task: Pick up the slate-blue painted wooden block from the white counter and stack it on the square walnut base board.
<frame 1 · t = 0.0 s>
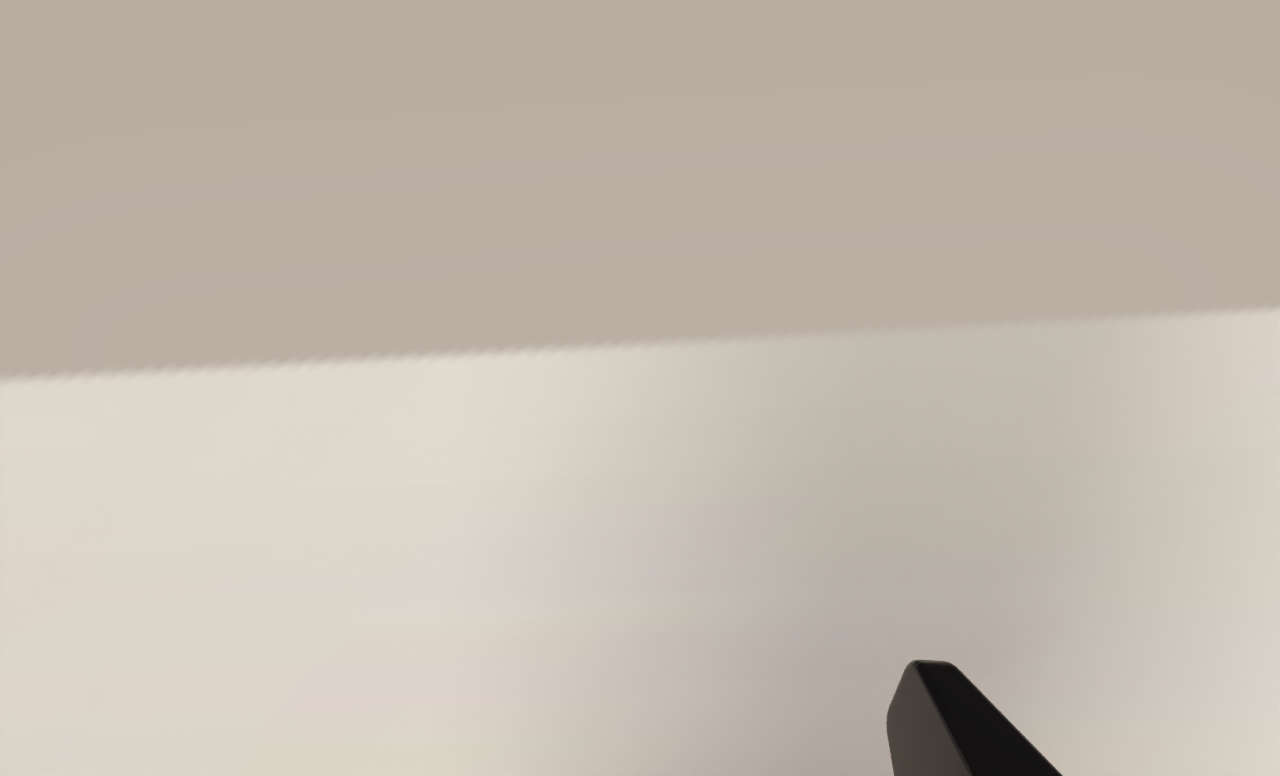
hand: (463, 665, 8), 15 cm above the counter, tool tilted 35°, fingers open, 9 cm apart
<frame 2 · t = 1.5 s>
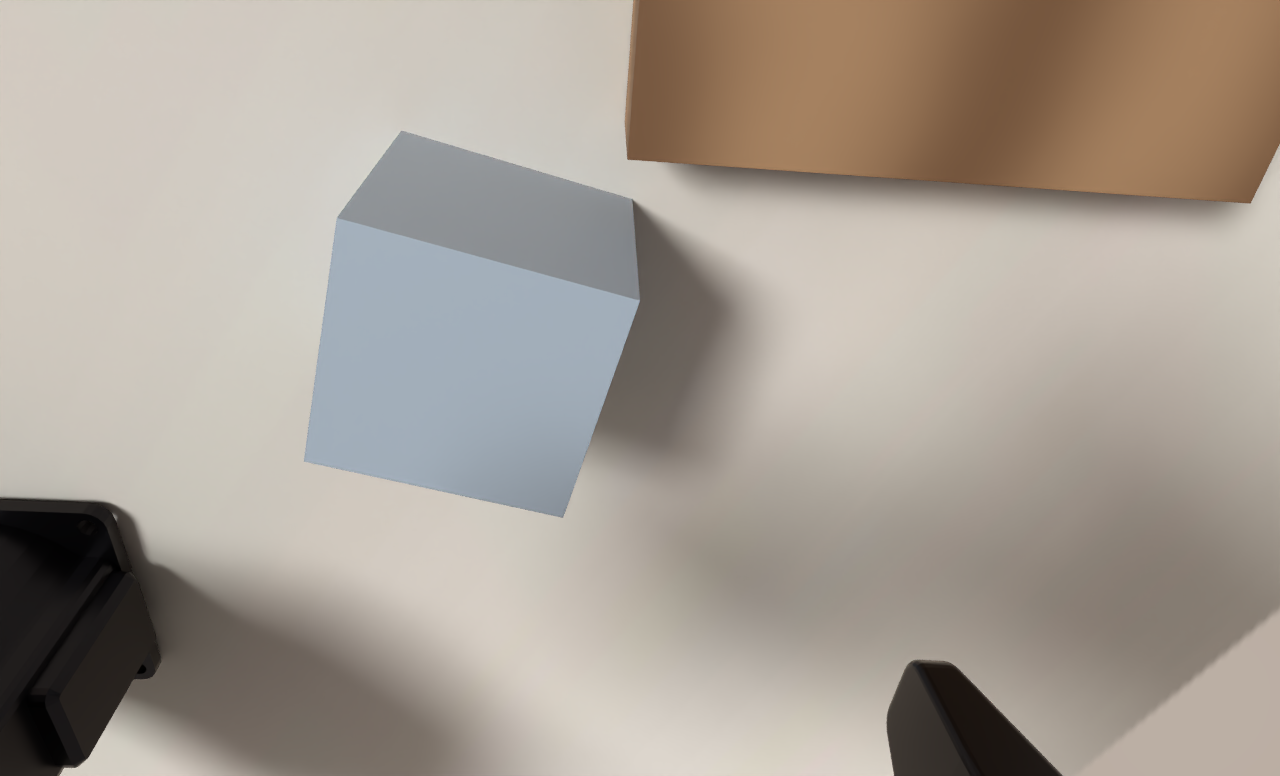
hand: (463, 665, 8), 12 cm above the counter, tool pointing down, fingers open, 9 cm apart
block: (494, 268, 19), on the counter
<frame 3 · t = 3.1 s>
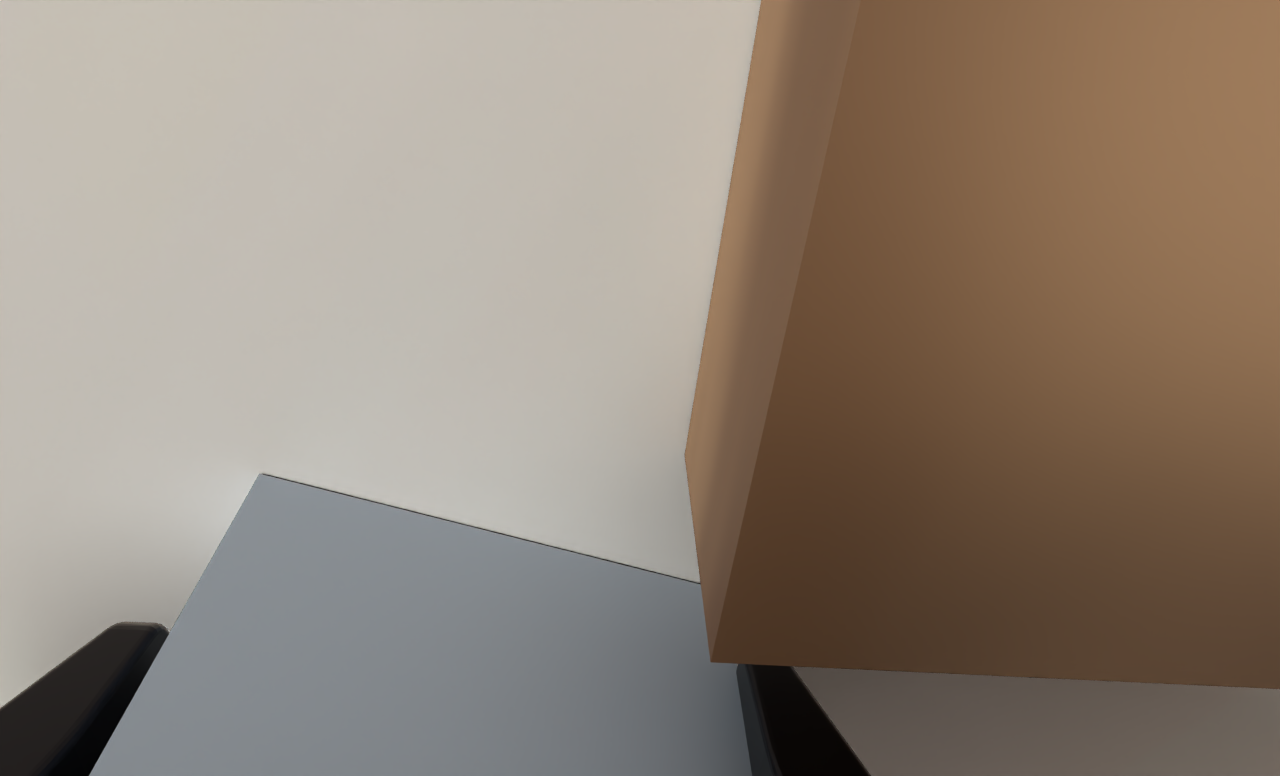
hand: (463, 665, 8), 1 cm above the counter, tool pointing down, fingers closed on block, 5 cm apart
block: (449, 684, 10), on the counter, touching gripper
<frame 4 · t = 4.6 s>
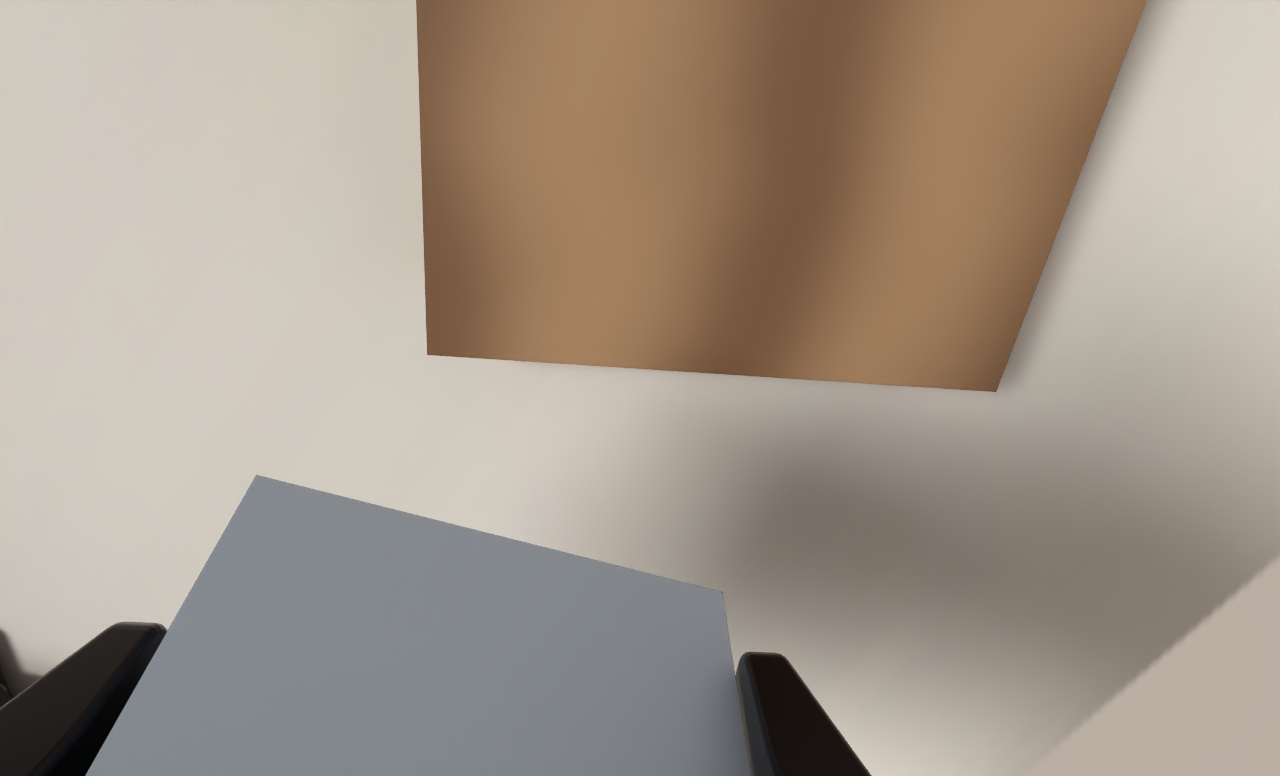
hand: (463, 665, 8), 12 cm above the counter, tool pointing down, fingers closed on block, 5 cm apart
block: (446, 685, 10), point 11 cm above the counter, touching gripper
base: (751, 46, 16), on the counter
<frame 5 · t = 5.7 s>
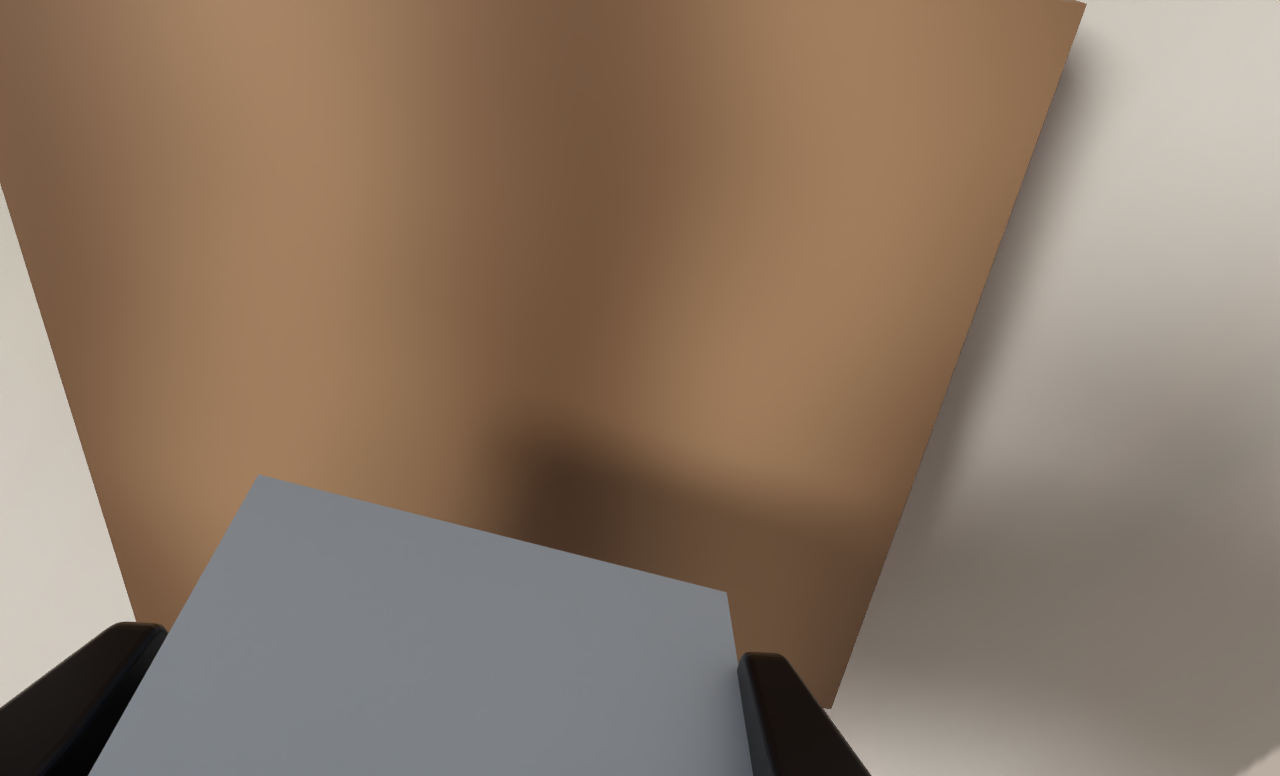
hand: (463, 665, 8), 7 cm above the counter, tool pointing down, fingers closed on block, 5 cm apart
block: (449, 685, 10), point 6 cm above the counter, touching gripper
base: (527, 332, 14), on the counter
when the fingers open (5 cm above the counter, at t = 6.4 s): block drops 1 cm, resting on base.
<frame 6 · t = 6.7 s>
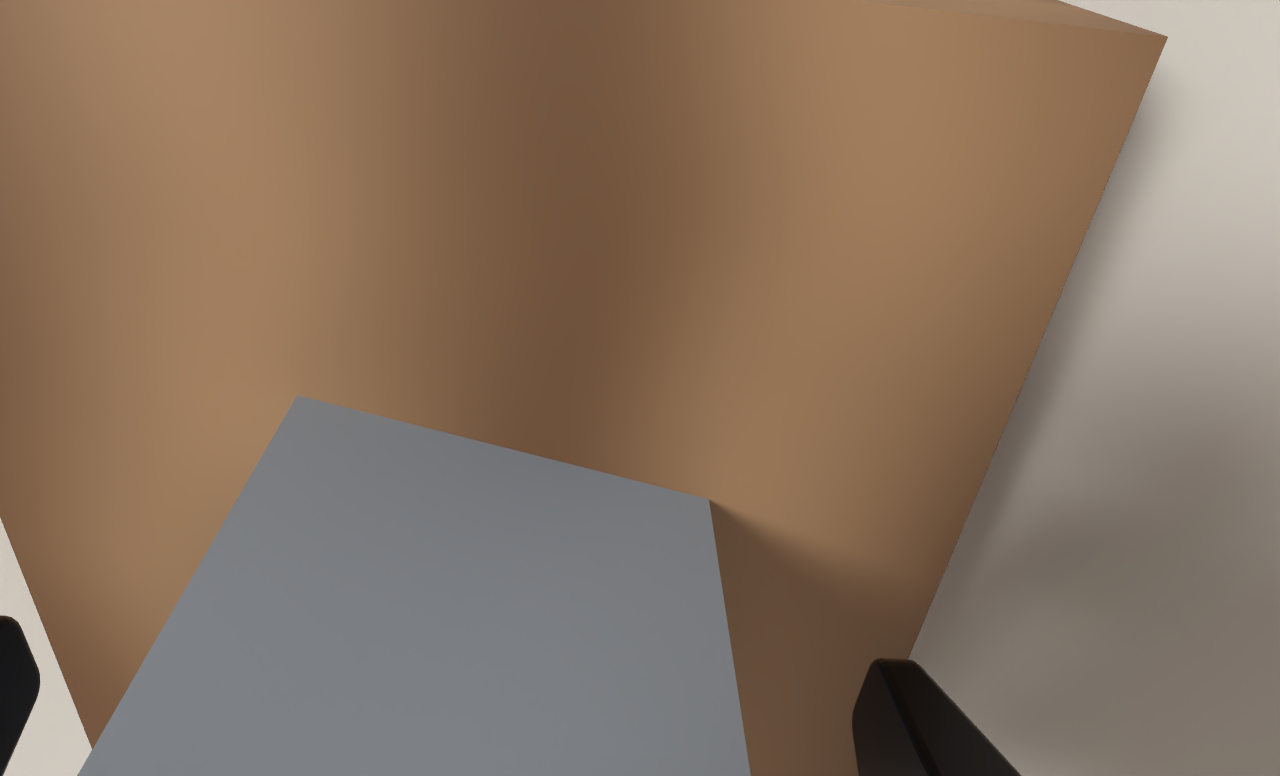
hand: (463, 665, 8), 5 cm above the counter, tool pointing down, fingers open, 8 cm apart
block: (466, 592, 11), point 2 cm above the counter, touching base
base: (514, 390, 12), on the counter
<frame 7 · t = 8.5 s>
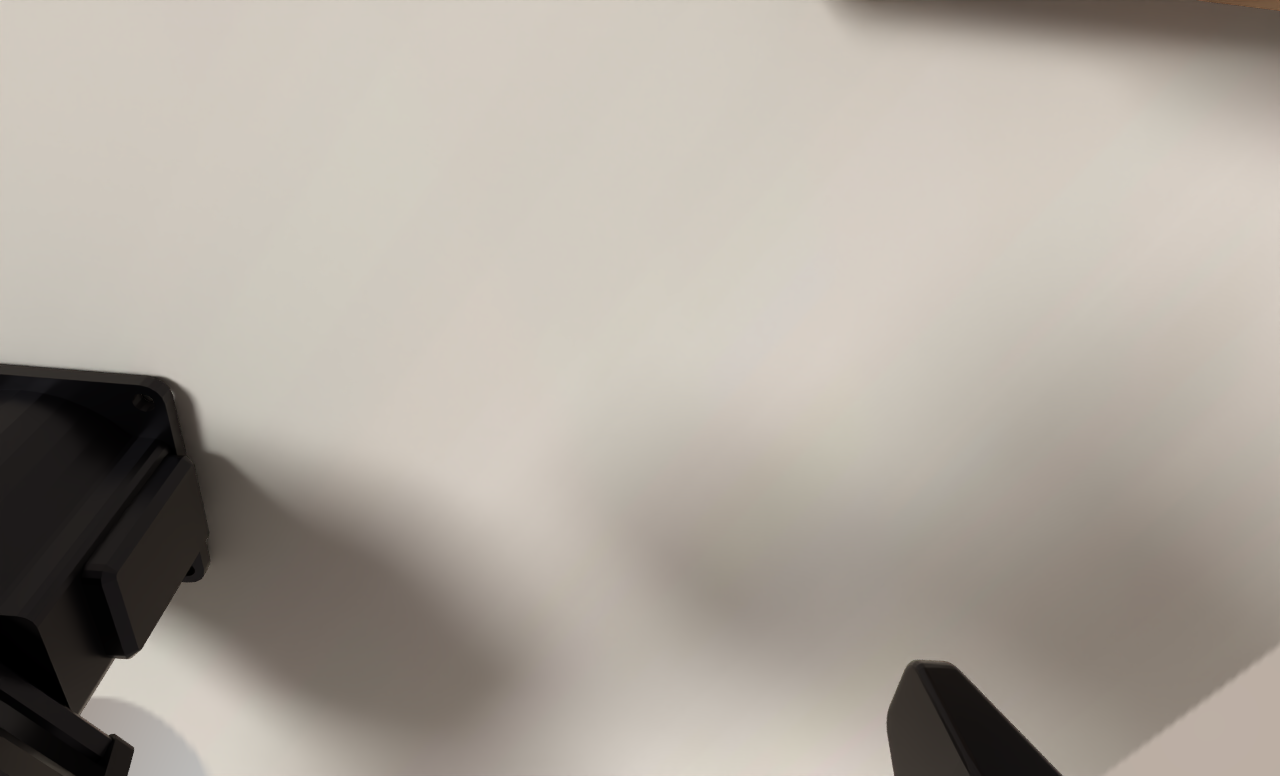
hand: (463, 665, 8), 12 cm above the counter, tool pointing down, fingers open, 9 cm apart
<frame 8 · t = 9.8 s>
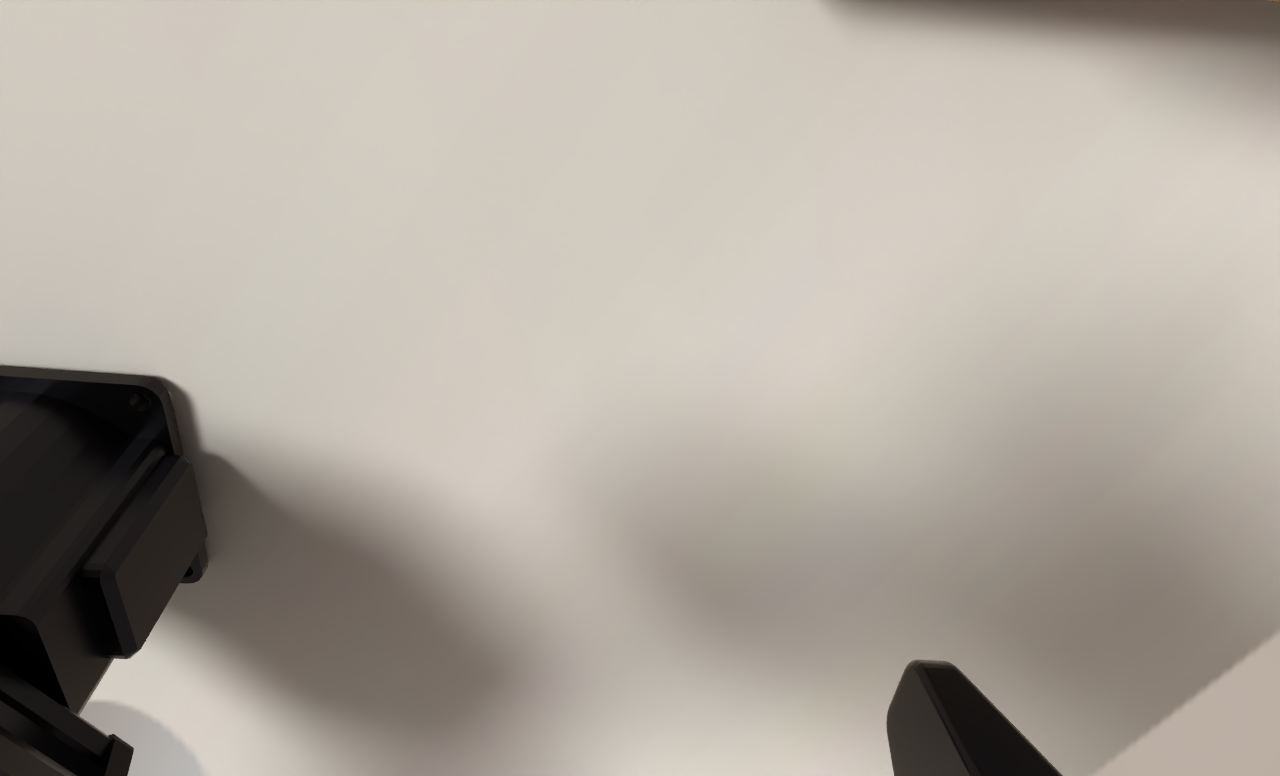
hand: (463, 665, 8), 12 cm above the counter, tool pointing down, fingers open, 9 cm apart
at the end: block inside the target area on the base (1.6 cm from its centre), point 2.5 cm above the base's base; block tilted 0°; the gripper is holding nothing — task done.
